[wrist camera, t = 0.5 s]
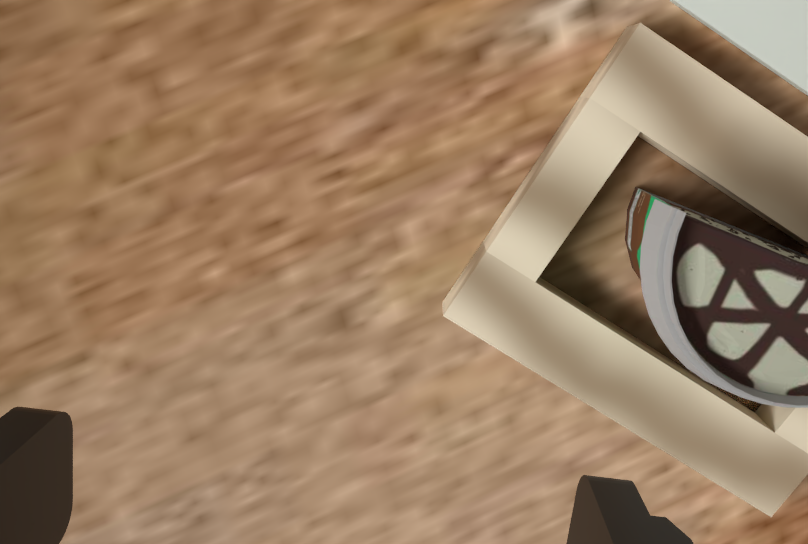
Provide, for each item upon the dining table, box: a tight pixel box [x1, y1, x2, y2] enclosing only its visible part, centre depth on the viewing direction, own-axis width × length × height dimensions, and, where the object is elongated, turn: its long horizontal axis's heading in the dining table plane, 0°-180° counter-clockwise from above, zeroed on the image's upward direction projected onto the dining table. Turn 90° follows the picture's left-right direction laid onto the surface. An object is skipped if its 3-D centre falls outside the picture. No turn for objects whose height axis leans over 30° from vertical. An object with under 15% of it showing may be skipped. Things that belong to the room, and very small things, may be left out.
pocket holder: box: [442, 23, 808, 517], centre depth 37 cm, size 16×20×2 cm
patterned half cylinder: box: [625, 187, 808, 408], centre depth 33 cm, size 12×6×10 cm, turn 69°
